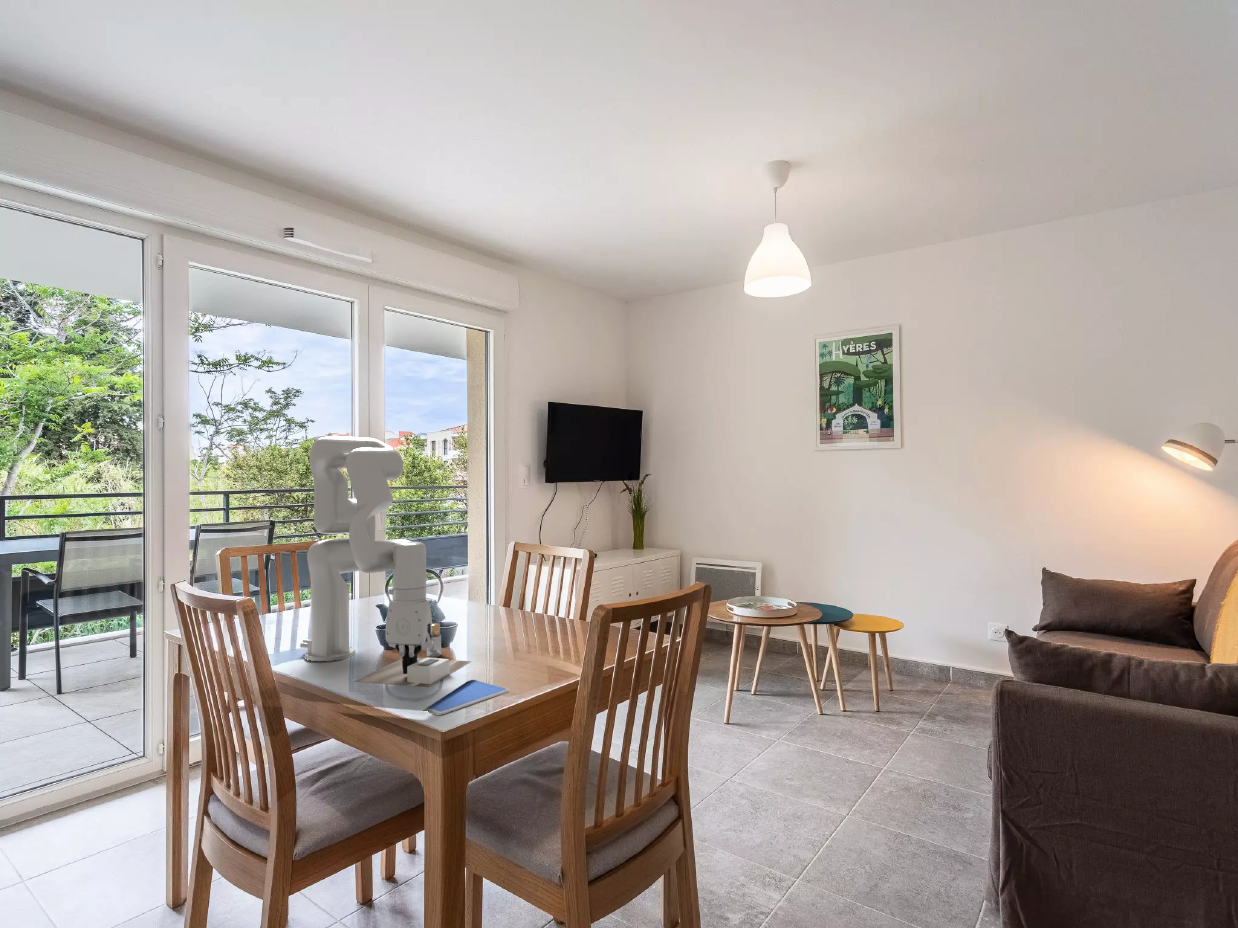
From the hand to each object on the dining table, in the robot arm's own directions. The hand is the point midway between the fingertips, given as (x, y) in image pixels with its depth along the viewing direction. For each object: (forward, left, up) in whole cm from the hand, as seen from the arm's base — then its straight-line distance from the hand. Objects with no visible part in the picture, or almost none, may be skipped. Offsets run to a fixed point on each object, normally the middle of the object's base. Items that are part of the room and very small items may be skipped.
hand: (409, 672), depth 156 cm
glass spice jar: (-4, +18, -2) cm, 19 cm away
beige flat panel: (-1, +4, -2) cm, 5 cm away
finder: (+5, 0, -1) cm, 5 cm away
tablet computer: (+16, -7, -3) cm, 18 cm away
